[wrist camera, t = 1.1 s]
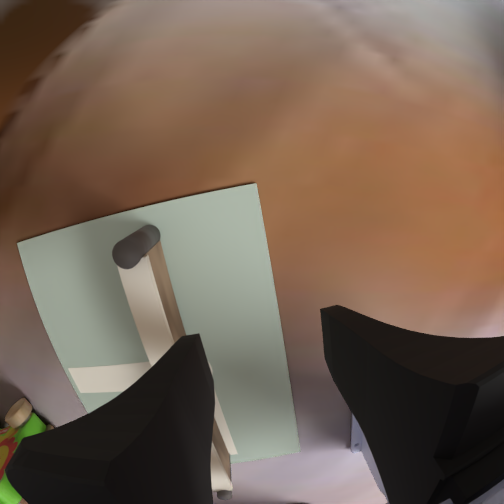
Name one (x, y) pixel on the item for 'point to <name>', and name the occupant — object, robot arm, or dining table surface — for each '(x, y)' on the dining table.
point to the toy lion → (16, 442)
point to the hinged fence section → (149, 290)
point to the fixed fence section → (220, 466)
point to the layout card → (189, 304)
